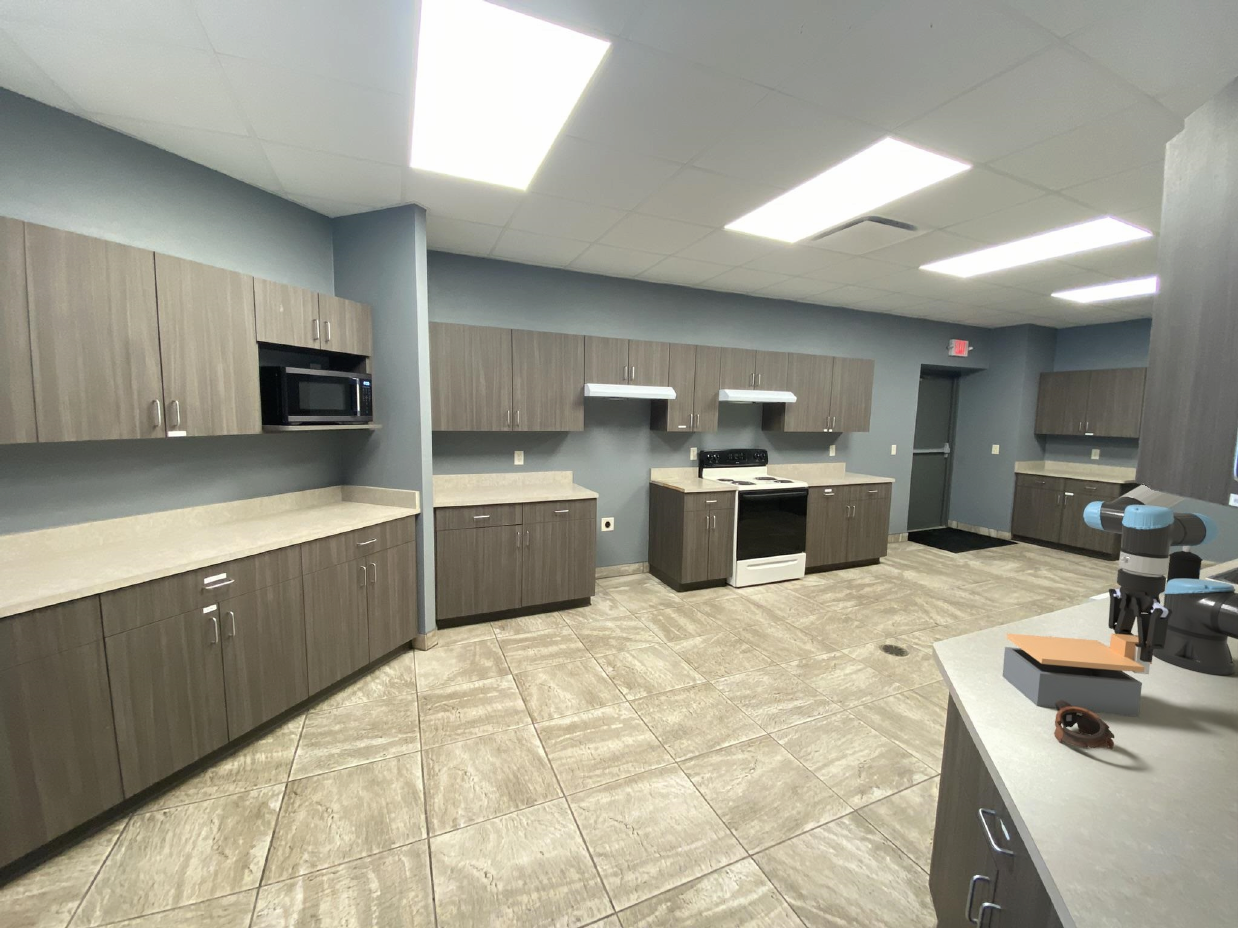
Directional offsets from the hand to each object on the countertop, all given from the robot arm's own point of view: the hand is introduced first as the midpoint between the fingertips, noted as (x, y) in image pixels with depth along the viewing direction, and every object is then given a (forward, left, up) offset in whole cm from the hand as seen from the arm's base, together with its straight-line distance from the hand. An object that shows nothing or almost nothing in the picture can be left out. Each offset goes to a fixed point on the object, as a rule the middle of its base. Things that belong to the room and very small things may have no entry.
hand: (1131, 667), depth 111 cm
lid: (+10, 0, +1) cm, 10 cm away
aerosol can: (-80, -84, -9) cm, 116 cm away
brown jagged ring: (+22, +18, -9) cm, 30 cm away
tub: (+13, 0, -8) cm, 15 cm away
